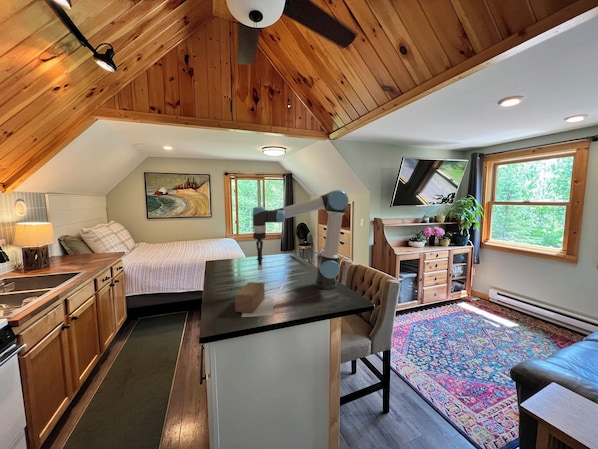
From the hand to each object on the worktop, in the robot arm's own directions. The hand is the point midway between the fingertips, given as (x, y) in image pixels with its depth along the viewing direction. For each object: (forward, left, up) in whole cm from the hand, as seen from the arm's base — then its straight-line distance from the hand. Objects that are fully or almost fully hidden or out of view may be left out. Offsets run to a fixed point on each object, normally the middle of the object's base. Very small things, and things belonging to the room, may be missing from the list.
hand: (260, 269), depth 156 cm
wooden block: (+2, +8, -10) cm, 13 cm away
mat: (0, +21, -15) cm, 26 cm away
